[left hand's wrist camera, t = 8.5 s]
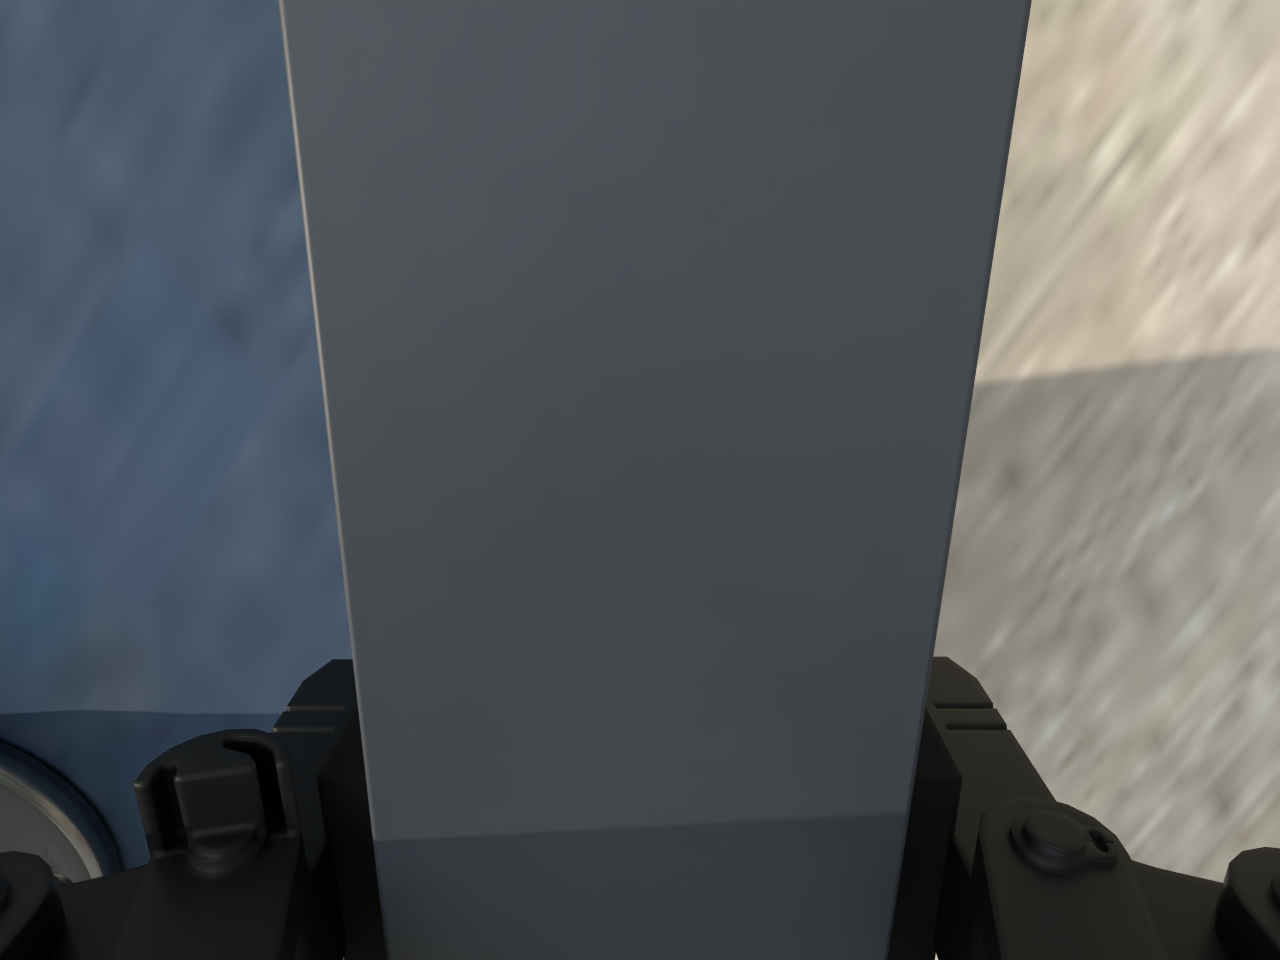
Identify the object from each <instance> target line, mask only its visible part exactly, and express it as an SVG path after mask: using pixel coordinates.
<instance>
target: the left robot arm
mask: <svg viewBox="0 0 1280 960" xmlns="http://www.w3.org/2000/svg"><path fill="white" fill-rule="evenodd" d="M133 785H134V789H135V793H136V797H137V801H138V806H139V810H140V814H141V818H142V822H143V826H144V830H145V835H146V839H147V843H148V847H149V851H150V855H151V858H150V860H149V863H148V864H146V865H143V866H139V867H136V868H133V869H130V870H126V871H123V872H122V871H121V865H120V861H119V857H118V854H117V851H116V849H115V846H114V843H113V841H112V839H111V837H110V835H109V833H108V831H107V829H106V828H105V826H104V824H103V823H102V821H101V820H100V818H99V817H98V815H97V814H96V813H95V811H94V810H93V809H92V808H91V806H90V805H89V804H88V803H87V802H86V801H85V799H84V798H83V797H82V796H81V795H80V794H79V793H78V792H77V791H76V790H75V789H74V788H73V787H72V786H71V785H69V784H68V783H67V782H66V781H65V780H64V779H62V778H61V777H60V776H59V775H57V774H56V773H55V772H54V771H52V770H51V769H49V768H48V767H46V766H45V765H43V764H42V763H40V762H39V761H37V760H35V759H34V758H32V757H30V756H29V755H27V754H25V753H23V752H21V751H19V750H17V749H15V748H13V747H11V746H9V745H7V744H4V743H2V742H0V960H342V959H343V957H344V959H345V960H387V959H386V950H385V941H384V933H383V924H382V915H381V906H380V897H379V888H378V879H377V871H376V862H375V853H374V844H373V835H372V826H371V818H370V809H369V800H368V791H367V782H366V773H365V764H364V756H363V747H362V738H361V729H360V720H359V711H358V702H357V694H356V685H355V676H354V667H353V659H333V660H331V661H330V662H329V663H327V664H326V665H324V666H323V667H322V668H320V669H319V670H318V671H316V672H315V673H314V674H312V675H311V676H310V677H308V678H307V679H305V680H304V681H303V682H302V684H301V685H300V687H299V688H298V690H297V691H296V693H295V695H294V696H293V698H292V699H291V701H290V702H289V704H288V705H287V711H286V712H283V713H282V715H281V716H280V718H279V719H278V721H277V723H276V724H275V726H274V727H273V733H267V732H263V731H260V730H256V729H228V730H223V731H219V732H214V733H210V734H206V735H201V736H198V737H195V738H193V739H191V740H189V741H186V742H184V743H182V744H179V745H177V746H175V747H173V748H170V749H169V750H168V751H166V752H165V753H163V754H162V755H161V756H159V757H158V758H156V759H155V760H154V761H152V762H151V763H149V764H148V765H147V766H146V767H145V769H144V770H143V771H142V773H141V774H140V775H139V777H138V778H137V779H136V781H135V782H134V783H133ZM936 954H937V957H938V960H1280V849H1278V848H1270V847H1262V848H1257V849H1251V850H1246V851H1242V852H1241V853H1240V854H1239V855H1237V856H1236V857H1235V858H1234V859H1233V860H1232V861H1231V862H1230V863H1229V866H1228V869H1227V872H1226V876H1225V879H1224V883H1220V882H1216V881H1212V880H1207V879H1203V878H1198V877H1194V876H1190V875H1185V874H1181V873H1177V872H1172V871H1168V870H1164V869H1159V868H1156V867H1152V866H1149V865H1146V864H1142V863H1139V862H1136V861H1133V860H1131V859H1130V856H1129V854H1128V853H1127V851H1126V850H1125V848H1124V847H1123V845H1122V844H1121V842H1120V841H1119V839H1118V838H1117V836H1116V835H1115V834H1114V833H1112V832H1111V831H1110V830H1109V829H1107V828H1106V827H1105V826H1104V825H1102V824H1101V823H1100V822H1099V821H1098V820H1096V819H1095V818H1094V817H1092V816H1090V815H1088V814H1086V813H1084V812H1082V811H1080V810H1078V809H1076V808H1074V807H1071V806H1069V805H1067V804H1064V803H1060V802H1056V800H1055V799H1054V797H1053V796H1052V794H1051V792H1050V791H1049V789H1048V788H1047V786H1046V785H1045V783H1044V782H1043V780H1042V779H1041V777H1040V775H1039V774H1038V772H1037V771H1036V769H1035V768H1034V766H1033V765H1032V763H1031V762H1030V760H1029V759H1028V757H1027V755H1026V754H1025V752H1024V751H1023V749H1022V748H1021V746H1020V745H1019V743H1018V742H1017V740H1016V738H1015V737H1014V735H1013V734H1012V732H1011V731H1010V730H1007V725H1006V723H1005V721H1004V720H1003V718H1002V717H1001V715H1000V714H999V712H998V711H997V709H993V703H992V701H991V700H990V698H989V697H988V695H987V694H986V692H985V691H984V689H983V687H982V686H981V684H980V683H979V681H978V680H977V678H975V677H974V676H973V675H971V674H970V673H969V672H967V671H966V670H964V669H963V668H962V667H960V666H959V665H958V664H956V663H955V662H953V661H952V660H951V659H949V658H948V657H933V660H932V667H931V674H930V680H929V687H928V694H927V700H926V707H925V714H924V720H923V727H922V734H921V740H920V747H919V753H918V760H917V767H916V773H915V780H914V787H913V793H912V800H911V807H910V813H909V820H908V827H907V833H906V840H905V847H904V853H903V860H902V867H901V873H900V880H899V887H898V893H897V900H896V907H895V913H894V920H893V927H892V933H891V940H890V947H889V953H888V960H935V955H936Z"/></svg>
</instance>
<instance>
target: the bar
mask: <svg viewBox="0 0 1280 960" xmlns="http://www.w3.org/2000/svg"><path fill="white" fill-rule="evenodd" d="M1031 1H1032V0H278V3H279V12H280V21H281V30H282V39H283V47H284V56H285V65H286V74H287V83H288V92H289V101H290V109H291V118H292V127H293V136H294V145H295V154H296V163H297V171H298V180H299V189H300V198H301V207H302V216H303V225H304V233H305V242H306V251H307V260H308V269H309V278H310V286H311V295H312V304H313V313H314V322H315V331H316V340H317V348H318V357H319V366H320V375H321V384H322V393H323V402H324V410H325V419H326V428H327V437H328V446H329V455H330V463H331V472H332V481H333V490H334V499H335V508H336V517H337V525H338V534H339V543H340V552H341V561H342V570H343V579H344V587H345V596H346V605H347V614H348V623H349V632H350V640H351V649H352V658H353V667H354V676H355V685H356V694H357V702H358V711H359V720H360V729H361V738H362V747H363V756H364V764H365V773H366V782H367V791H368V800H369V809H370V818H371V826H372V835H373V844H374V853H375V862H376V871H377V879H378V888H379V897H380V906H381V915H382V924H383V933H384V941H385V950H386V959H387V960H888V953H889V947H890V940H891V933H892V927H893V920H894V913H895V907H896V900H897V893H898V887H899V880H900V873H901V867H902V860H903V853H904V847H905V840H906V833H907V827H908V820H909V813H910V807H911V800H912V793H913V787H914V780H915V773H916V767H917V760H918V753H919V747H920V740H921V734H922V727H923V720H924V714H925V707H926V700H927V694H928V687H929V680H930V674H931V667H932V660H933V654H934V647H935V640H936V634H937V627H938V620H939V614H940V607H941V600H942V594H943V587H944V580H945V574H946V567H947V560H948V554H949V547H950V540H951V534H952V527H953V520H954V514H955V507H956V500H957V494H958V487H959V480H960V474H961V467H962V460H963V454H964V447H965V440H966V434H967V427H968V421H969V414H970V407H971V401H972V394H973V387H974V381H975V374H976V367H977V361H978V354H979V347H980V341H981V334H982V327H983V321H984V314H985V307H986V301H987V294H988V287H989V281H990V274H991V267H992V261H993V254H994V247H995V241H996V234H997V227H998V221H999V214H1000V207H1001V201H1002V194H1003V187H1004V181H1005V174H1006V167H1007V161H1008V154H1009V147H1010V141H1011V134H1012V127H1013V121H1014V114H1015V107H1016V101H1017V94H1018V88H1019V81H1020V74H1021V68H1022V61H1023V54H1024V48H1025V41H1026V34H1027V28H1028V21H1029V14H1030V8H1031Z"/></svg>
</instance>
